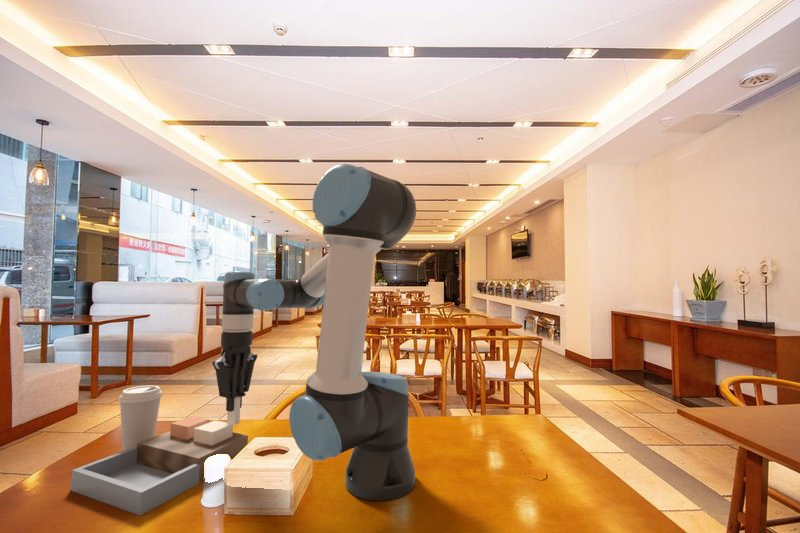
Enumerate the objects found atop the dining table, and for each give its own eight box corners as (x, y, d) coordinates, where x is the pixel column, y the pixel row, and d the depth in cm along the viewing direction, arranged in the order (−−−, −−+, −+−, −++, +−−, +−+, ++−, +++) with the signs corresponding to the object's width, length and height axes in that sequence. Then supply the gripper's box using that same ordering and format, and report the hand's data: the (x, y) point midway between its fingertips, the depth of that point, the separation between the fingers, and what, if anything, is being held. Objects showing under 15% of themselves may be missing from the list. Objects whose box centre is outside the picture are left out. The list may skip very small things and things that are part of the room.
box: (198, 483, 79) (199, 464, 79) (139, 515, 67) (141, 492, 68) (133, 464, 87) (134, 447, 87) (70, 490, 75) (72, 470, 76)
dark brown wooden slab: (247, 456, 92) (248, 435, 92) (197, 482, 79) (198, 458, 79) (189, 442, 100) (190, 423, 100) (135, 464, 87) (136, 442, 87)
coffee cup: (136, 458, 90) (140, 395, 91) (104, 454, 92) (108, 392, 93) (168, 443, 99) (172, 385, 100) (138, 439, 101) (142, 383, 102)
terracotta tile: (208, 431, 95) (209, 419, 95) (187, 439, 89) (188, 427, 89) (191, 427, 97) (192, 415, 97) (170, 435, 91) (170, 423, 92)
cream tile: (232, 436, 92) (233, 423, 92) (212, 445, 86) (212, 432, 86) (214, 432, 94) (215, 420, 94) (193, 441, 88) (194, 428, 89)
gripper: (245, 327, 105) (241, 413, 103) (205, 331, 93) (200, 428, 91) (266, 329, 102) (262, 417, 100) (227, 333, 90) (223, 433, 88)
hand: (233, 422), depth 96 cm, fingers closed
